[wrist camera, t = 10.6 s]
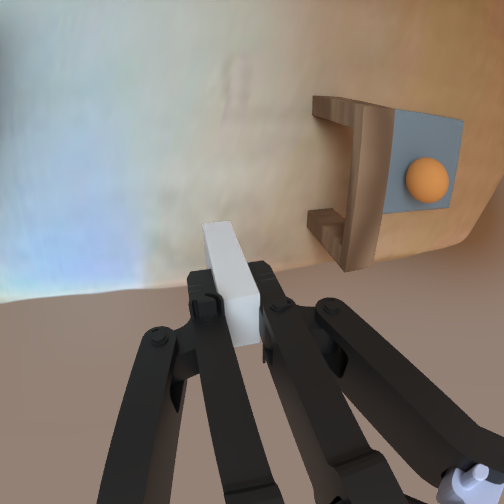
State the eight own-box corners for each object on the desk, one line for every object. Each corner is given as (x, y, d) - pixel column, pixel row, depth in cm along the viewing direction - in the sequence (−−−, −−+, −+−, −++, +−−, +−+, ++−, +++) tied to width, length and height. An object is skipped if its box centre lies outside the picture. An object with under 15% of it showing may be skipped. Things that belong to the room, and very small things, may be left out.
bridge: (306, 226, 35) (344, 272, 28) (312, 95, 28) (363, 105, 20) (330, 224, 36) (371, 267, 28) (339, 97, 28) (395, 109, 21)
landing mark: (380, 213, 37) (381, 213, 37) (392, 109, 30) (393, 109, 30) (447, 206, 39) (448, 207, 39) (462, 120, 33) (463, 120, 32)
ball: (439, 200, 35) (400, 190, 37) (447, 159, 33) (407, 149, 34) (446, 214, 31) (403, 203, 33) (457, 168, 28) (412, 156, 30)
